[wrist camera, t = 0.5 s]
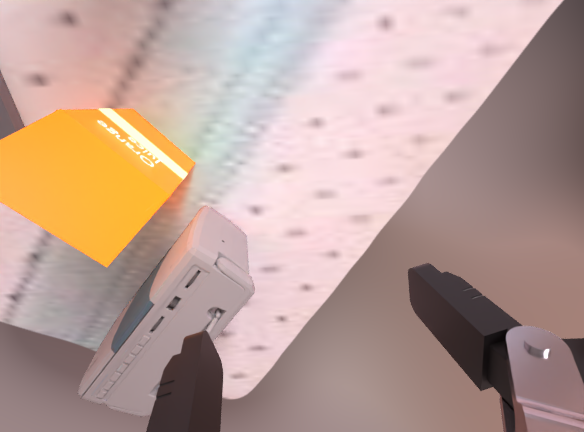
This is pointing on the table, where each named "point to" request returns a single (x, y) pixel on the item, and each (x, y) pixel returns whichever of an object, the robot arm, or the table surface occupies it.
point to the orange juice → (90, 176)
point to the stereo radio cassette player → (171, 313)
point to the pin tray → (8, 112)
